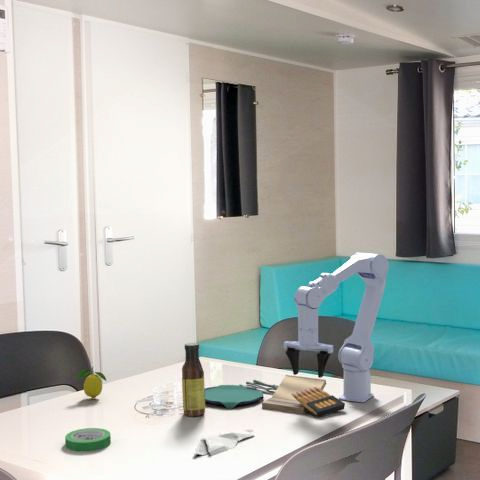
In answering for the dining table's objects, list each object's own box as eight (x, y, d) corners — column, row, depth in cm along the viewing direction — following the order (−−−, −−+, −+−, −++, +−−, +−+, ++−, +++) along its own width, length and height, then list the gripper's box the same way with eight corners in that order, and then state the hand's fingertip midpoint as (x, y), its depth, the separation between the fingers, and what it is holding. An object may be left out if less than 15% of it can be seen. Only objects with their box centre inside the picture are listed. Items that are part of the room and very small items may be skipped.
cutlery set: (182, 399, 234) (183, 392, 234) (251, 383, 256) (251, 376, 256) (229, 413, 220) (229, 405, 220) (298, 395, 242) (298, 387, 242)
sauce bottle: (209, 413, 219) (209, 343, 218) (193, 418, 215) (193, 347, 213) (193, 409, 224) (193, 340, 222) (177, 413, 219) (176, 344, 218)
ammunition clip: (317, 412, 215) (289, 391, 223) (316, 418, 215) (288, 397, 224) (345, 403, 221) (317, 383, 230) (344, 409, 222) (315, 389, 230)
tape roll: (70, 455, 187) (70, 444, 187) (61, 441, 197) (61, 431, 197) (115, 449, 191) (115, 438, 191) (104, 435, 201) (104, 425, 201)
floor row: (271, 402, 230) (271, 397, 230) (311, 408, 224) (311, 402, 224) (262, 407, 225) (262, 402, 225) (303, 413, 219) (303, 408, 219)
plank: (286, 378, 240) (285, 374, 239) (326, 383, 234) (325, 379, 233) (272, 401, 231) (271, 396, 230) (313, 406, 225) (312, 402, 224)
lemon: (77, 400, 233) (77, 367, 233) (88, 395, 239) (88, 363, 238) (96, 402, 231) (96, 369, 230) (107, 397, 236) (106, 365, 236)
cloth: (240, 427, 209) (240, 419, 208) (277, 439, 199) (277, 431, 199) (163, 451, 191) (163, 442, 191) (200, 465, 181) (200, 455, 181)
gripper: (279, 329, 222) (279, 375, 223) (327, 333, 216) (327, 381, 217) (289, 324, 229) (289, 370, 230) (335, 328, 222) (335, 375, 223)
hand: (308, 375), depth 224 cm, fingers open, 7 cm apart
